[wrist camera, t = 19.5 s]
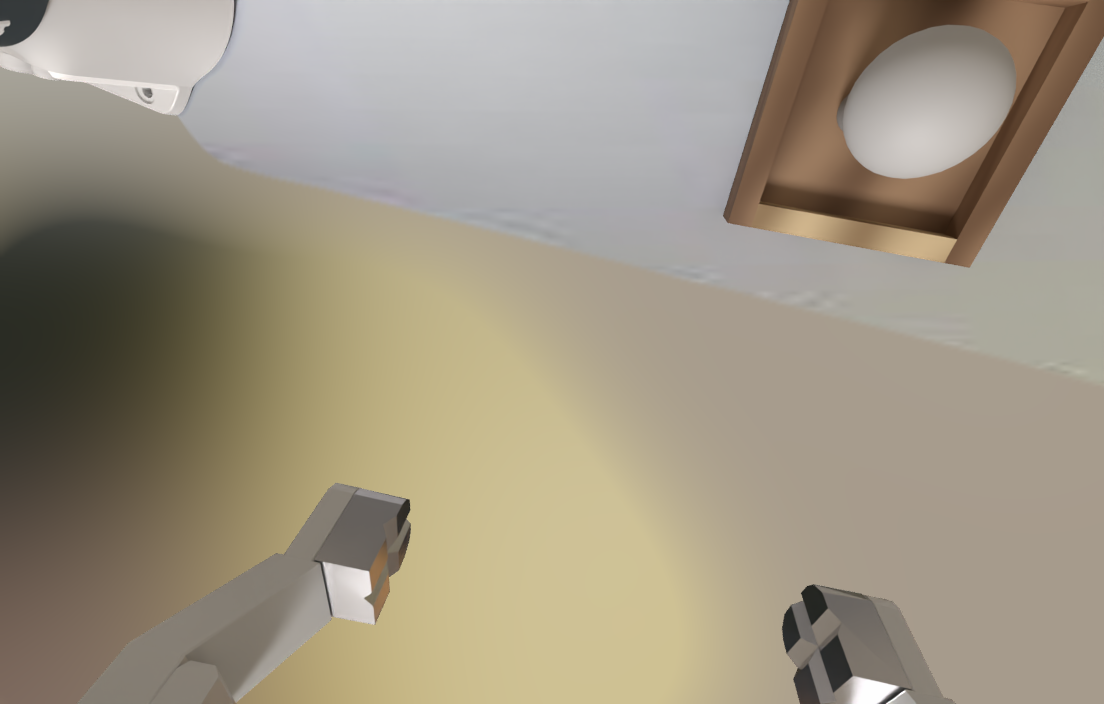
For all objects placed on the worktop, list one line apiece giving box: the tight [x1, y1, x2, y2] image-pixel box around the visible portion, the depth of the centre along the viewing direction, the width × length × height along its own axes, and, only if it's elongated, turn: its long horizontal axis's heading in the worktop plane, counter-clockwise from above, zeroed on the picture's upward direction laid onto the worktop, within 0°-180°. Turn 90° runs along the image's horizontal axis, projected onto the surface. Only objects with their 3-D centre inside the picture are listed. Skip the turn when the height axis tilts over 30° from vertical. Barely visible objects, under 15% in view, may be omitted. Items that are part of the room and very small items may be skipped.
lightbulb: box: [837, 25, 1016, 179], centre depth 24 cm, size 6×6×11 cm
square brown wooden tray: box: [723, 0, 1104, 268], centre depth 28 cm, size 15×15×2 cm
